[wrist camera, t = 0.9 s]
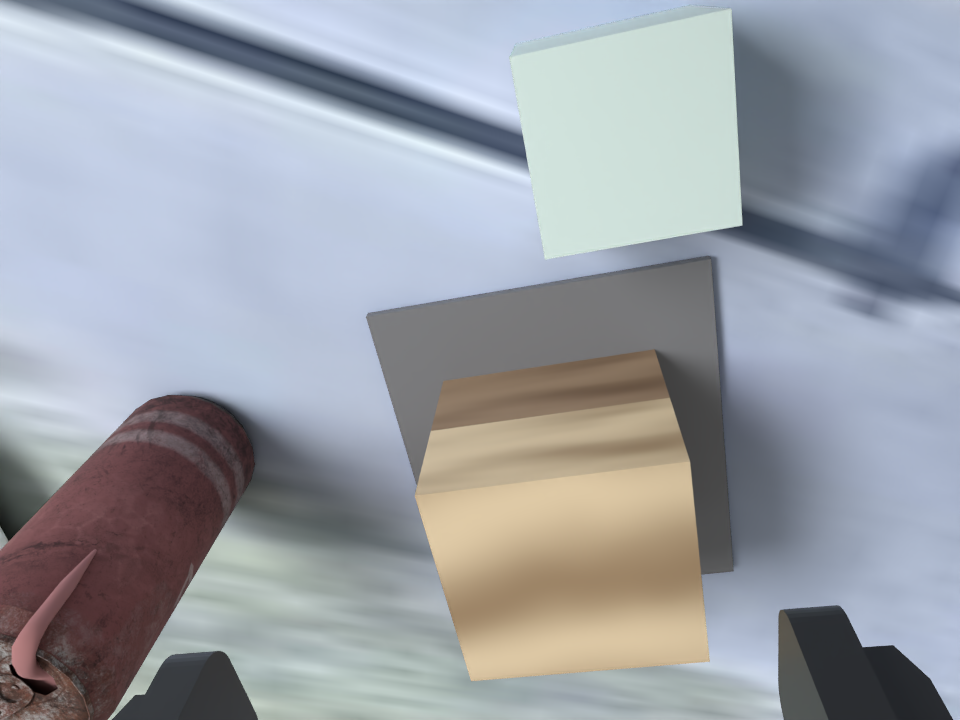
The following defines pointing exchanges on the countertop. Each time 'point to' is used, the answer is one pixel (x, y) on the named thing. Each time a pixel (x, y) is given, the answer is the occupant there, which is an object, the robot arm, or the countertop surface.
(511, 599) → the block top
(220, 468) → the can
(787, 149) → the countertop surface
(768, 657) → the countertop surface
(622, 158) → the cube
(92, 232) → the countertop surface
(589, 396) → the block bottom
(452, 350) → the mat
